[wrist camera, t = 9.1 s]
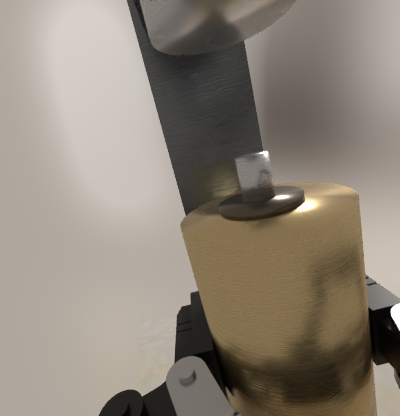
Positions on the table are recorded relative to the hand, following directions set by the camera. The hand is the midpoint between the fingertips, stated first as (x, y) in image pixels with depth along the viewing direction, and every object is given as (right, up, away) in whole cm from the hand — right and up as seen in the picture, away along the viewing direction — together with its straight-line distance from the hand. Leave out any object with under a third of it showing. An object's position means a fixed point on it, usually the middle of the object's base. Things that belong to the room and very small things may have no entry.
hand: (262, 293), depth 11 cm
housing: (+2, -7, -1) cm, 7 cm away
